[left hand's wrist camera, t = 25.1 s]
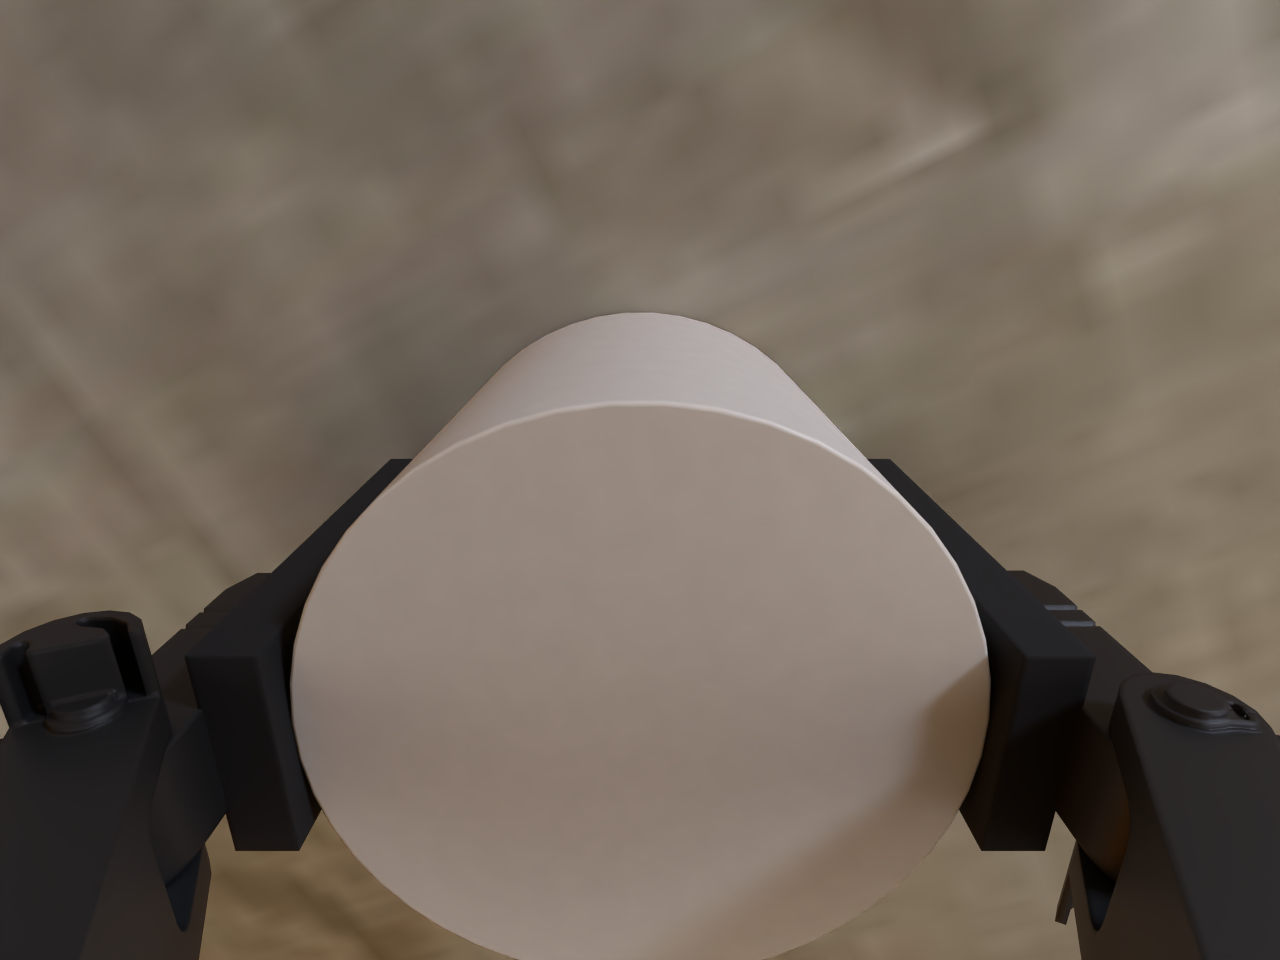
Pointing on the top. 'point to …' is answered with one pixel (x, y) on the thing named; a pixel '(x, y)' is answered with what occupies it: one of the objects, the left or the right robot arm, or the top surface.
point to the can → (640, 661)
